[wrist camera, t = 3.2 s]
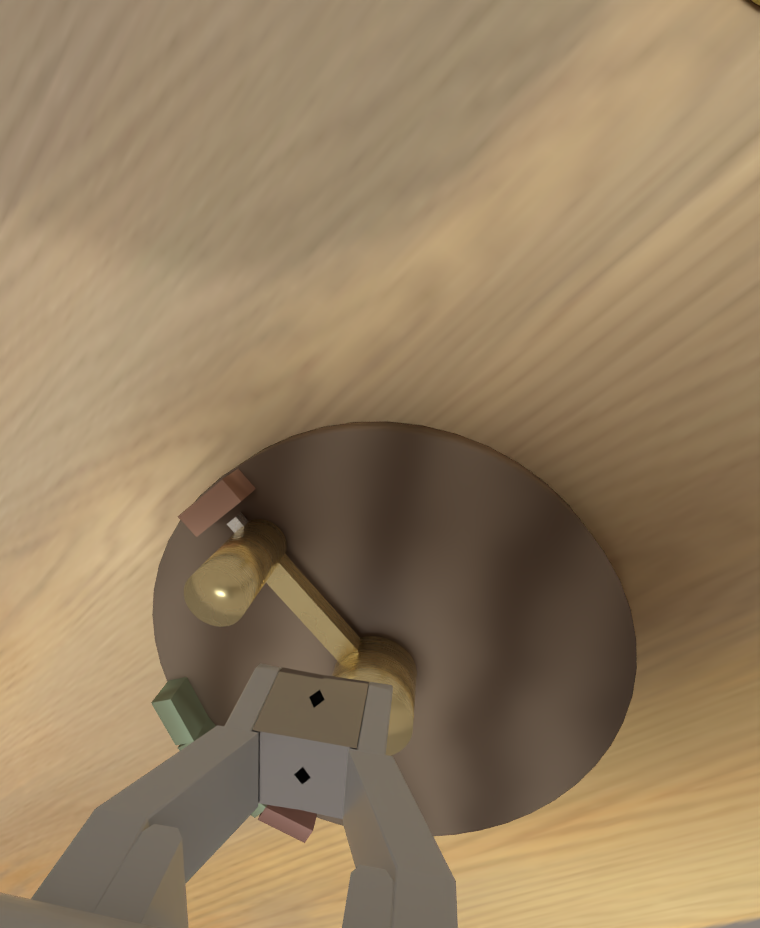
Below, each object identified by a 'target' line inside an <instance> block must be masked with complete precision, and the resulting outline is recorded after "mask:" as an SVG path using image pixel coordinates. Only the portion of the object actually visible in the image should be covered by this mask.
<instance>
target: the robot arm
mask: <svg viewBox="0 0 760 928" xmlns="http://www.w3.org/2000/svg"><path fill="white" fill-rule="evenodd" d="M392 693H393V686H392V685H388V684H382V683H375V682H370V684H369V682H368V681H361V680H354V679H348V678H341V677H335V676H328V675H326V676H325V675H320V674H315V673H310V672H304V671H299V670H294V669H289V668H283V667H282V668H280V667H275V666H270V665H265V664H259V665H258V666H257V667H256V668H255V670H254V672H253V673H252V675H251V677H250V679H249V681H248V683H247V685H246V687H245V688H244V690H243V692H242V694H241V696H240V698H239V700H238V702H237V704H236V705H235V707H234V709H233V711H232V713H231V715H230V717H229V719H228V720H227V722H226V724H225V726H218V725H217V726H216V727H214V728H213V729H211V730H210V731H208V732H207V733H206V734H204V735H203V736H201V737H200V738H198V739H197V740H195V741H194V742H192V743H191V744H189V745H188V746H187V747H185V748H184V749H182V750H181V751H179V752H178V753H176V754H175V755H173V756H172V757H170V758H169V759H167V760H166V761H165V762H163V763H162V764H160V765H159V766H157V767H156V768H154V769H153V770H151V771H150V772H148V773H147V774H145V775H144V776H143V777H141V778H140V779H138V780H137V781H135V782H134V783H132V784H131V785H129V786H128V787H126V788H125V789H123V790H122V791H121V792H119V793H118V794H116V795H115V796H113V797H112V798H110V799H109V800H107V801H106V802H104V803H103V804H101V805H100V806H99V807H97V808H96V809H95V810H94V811H93V813H92V814H91V816H90V817H89V818H88V820H87V821H86V823H85V824H84V825H83V827H82V828H81V830H80V831H79V832H78V834H77V835H76V837H75V838H74V839H73V841H72V842H71V844H70V845H69V846H68V848H67V849H66V851H65V852H64V853H63V855H62V856H61V858H60V859H59V860H58V862H57V863H56V865H55V866H54V867H53V869H52V870H51V872H50V873H49V874H48V876H47V877H46V879H45V880H44V881H43V883H42V884H41V886H40V887H39V888H38V890H37V891H36V893H35V894H34V895H33V897H32V898H31V899H27V898H23V897H18V896H14V895H9V894H5V893H0V928H188V915H187V902H186V888H185V884H186V883H187V882H188V881H189V879H190V878H191V877H192V876H193V875H194V874H195V873H196V872H197V871H198V870H199V869H200V868H201V867H202V866H203V865H204V864H205V862H206V861H207V860H208V859H209V858H210V857H211V856H212V855H213V854H214V853H215V852H216V851H217V850H218V849H219V848H220V847H221V846H222V844H223V843H224V842H225V841H226V840H227V839H228V838H229V837H230V836H231V835H232V834H233V833H234V832H235V831H236V830H237V829H238V828H239V826H240V825H241V824H242V823H243V822H244V821H245V820H246V819H247V818H248V817H249V816H250V815H251V814H252V813H253V812H254V811H255V810H256V808H257V807H258V803H259V804H266V805H272V806H279V807H285V808H291V809H298V810H303V811H308V812H312V813H316V814H321V815H325V816H330V817H334V818H339V819H343V825H344V829H345V832H346V836H347V839H348V843H349V846H350V850H351V853H352V857H353V860H354V864H355V867H356V869H355V870H353V871H352V872H351V876H350V882H349V888H348V894H347V900H346V906H345V912H344V919H343V925H342V928H458V923H457V900H456V881H455V879H454V877H453V875H452V873H451V871H450V869H449V867H448V865H447V863H446V861H445V859H444V857H443V855H442V853H441V851H440V849H439V847H438V845H437V843H436V841H435V839H434V837H433V835H432V833H431V831H430V829H429V827H428V825H427V823H426V821H425V819H424V817H423V815H422V813H421V811H420V809H419V807H418V805H417V803H416V801H415V799H414V797H413V795H412V793H411V791H410V789H409V787H408V785H407V783H406V781H405V779H404V777H403V775H402V773H401V771H400V769H399V767H398V765H397V764H396V762H395V760H394V758H393V756H389V755H386V747H387V738H388V729H389V720H390V711H391V702H392Z"/></svg>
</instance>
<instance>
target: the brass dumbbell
mask: <svg viewBox="0 0 760 928" xmlns="http://www.w3.org/2000/svg"><path fill="white" fill-rule="evenodd" d="M227 525H228V526H229V527H230V528H231V530H232V531H233V532H234V534H233V535H232V536H231V537H230V538H229V539H228V540H227V541H226V542H225V543H224V544H223V545H222V546H221V547H220V548H219V549H218V550H217V551H216V552H215V553H214V554H213V555H212V556H211V557H210V558H209V559H208V560H207V561H206V562H205V563H204V564H203V565H202V566H201V567H200V568H198V569H197V570H196V571H195V572H194V573H193V574H192V575H191V576H190V577H189V579H188V580H187V581H186V583H185V586H184V599H185V602H186V604H187V606H188V608H189V610H190V611H191V612H192V613H193V614H194V615H195V616H196V617H197V618H198V619H199V620H201V621H203V622H205V623H207V624H209V625H213V626H218V627H224V626H230V625H232V624H234V623H236V622H237V621H239V620H240V619H241V618H242V616H243V615H244V613H245V612H246V610H247V609H248V607H249V606H250V605H251V603H252V602H253V600H254V599H255V597H256V596H257V595H258V593H259V592H260V590H261V589H262V587H263V586H264V584H265V583H267V584H268V585H269V586H270V587H271V588H272V590H273V591H274V592H275V593H276V594H277V595H278V596H279V597H280V598H281V599H282V600H283V602H284V603H285V604H286V605H287V606H288V607H289V608H290V609H291V610H292V611H293V613H294V614H295V615H296V616H297V617H298V618H299V619H300V620H301V621H302V622H303V624H304V625H305V626H306V627H307V628H308V629H309V630H310V631H311V632H312V633H313V635H314V636H315V637H316V638H317V639H318V640H319V641H320V642H321V643H322V644H323V645H324V647H325V648H326V649H327V650H328V651H329V652H330V653H331V654H332V655H333V656H334V658H335V659H336V660H337V661H336V665H335V668H334V671H333V674H332V676H335V677H341V678H348V679H354V680H361V681H368V682H369V684H370V682H375V683H382V684H388V685H392V686H393V693H392V702H391V711H390V720H389V729H388V738H387V747H386V755H389V756H391V755H394V754H396V753H398V752H400V751H401V750H402V749H403V748H404V747H405V746H406V745H407V744H408V742H409V741H410V739H411V736H412V733H413V720H414V706H415V692H416V678H417V669H416V665H415V663H414V660H413V658H412V657H411V655H410V654H409V653H408V652H407V651H406V650H405V649H404V648H403V647H402V646H401V645H399V644H397V643H396V642H394V641H392V640H389V639H386V638H382V637H376V636H367V637H361V638H360V637H359V636H358V635H357V634H356V633H355V632H354V631H353V630H352V628H351V627H350V626H349V625H348V624H347V623H346V622H345V621H344V619H343V618H342V617H341V616H340V615H339V614H338V613H337V612H336V610H335V609H334V608H333V607H332V606H331V605H330V604H329V603H328V601H327V600H326V599H325V598H324V597H323V596H322V595H321V594H320V592H319V591H318V590H317V589H316V588H315V587H314V586H313V585H312V583H311V582H310V581H309V580H308V579H307V578H306V577H305V576H304V574H303V573H302V572H301V571H300V570H299V569H298V568H297V567H296V565H295V564H294V563H293V562H292V561H291V560H290V559H289V558H288V556H287V555H286V554H285V553H286V550H287V542H286V538H285V536H284V534H283V532H282V531H281V530H280V528H279V527H278V526H276V525H275V524H273V523H272V522H270V521H267V520H263V519H253V520H250V521H248V520H247V519H246V518H245V517H244V516H243V514H242V513H240V514H238V515H237V516H236V517H234V518H233V519H232V520H231V521H230V522H229V523H228V524H227Z"/></svg>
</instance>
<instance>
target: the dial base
mask: <svg viewBox="0 0 760 928" xmlns="http://www.w3.org/2000/svg"><path fill="white" fill-rule="evenodd" d="M240 513H242V514H243V516H244V517H245V518H246V519H247V520H248V521H250V520H253V519H263V520H267V521H270V522H272V523H273V524H275V525H276V526H278V527H279V528H280V530H281V531H282V532H283V534H284V536H285V538H286V542H287V550H286V553H285V554H286V555H287V556H288V558H289V559H290V560H291V561H292V562H293V563H294V564H295V565H296V567H297V568H298V569H299V570H300V571H301V572H302V573H303V574H304V576H305V577H306V578H307V579H308V580H309V581H310V582H311V583H312V585H313V586H314V587H315V588H316V589H317V590H318V591H319V592H320V594H321V595H322V596H323V597H324V598H325V599H326V600H327V601H328V603H329V604H330V605H331V606H332V607H333V608H334V609H335V610H336V612H337V613H338V614H339V615H340V616H341V617H342V618H343V619H344V621H345V622H346V623H347V624H348V625H349V626H350V627H351V628H352V630H353V631H354V632H355V633H356V634H357V635H358V636H359V637H360V638H361V637H367V636H376V637H382V638H386V639H389V640H392V641H394V642H396V643H397V644H399V645H401V646H402V647H403V648H404V649H405V650H406V651H407V652H408V653H409V654H410V655H411V657H412V658H413V660H414V663H415V665H416V669H417V678H416V692H415V706H414V720H413V733H412V736H411V739H410V741H409V742H408V744H407V745H406V746H405V747H404V748H403V749H402V750H401V751H400V752H398V753H396V754H394V755H391V756H393V758H394V760H395V762H396V764H397V765H398V767H399V769H400V771H401V773H402V775H403V777H404V779H405V781H406V783H407V785H408V787H409V789H410V791H411V793H412V795H413V797H414V799H415V801H416V803H417V805H418V807H419V809H420V811H421V813H422V815H423V817H424V819H425V821H426V823H427V825H428V827H429V829H430V831H431V833H432V835H433V836H443V835H456V834H462V833H467V832H473V831H479V830H483V829H487V828H491V827H494V826H498V825H501V824H505V823H508V822H510V821H513V820H515V819H518V818H520V817H523V816H525V815H528V814H530V813H532V812H534V811H536V810H538V809H540V808H541V807H543V806H545V805H547V804H549V803H551V802H552V801H554V800H556V799H557V798H558V797H560V796H561V795H562V794H564V793H565V792H567V791H568V790H569V789H571V788H572V787H573V786H575V785H576V784H577V783H578V782H579V781H580V780H581V779H582V778H583V777H584V776H585V775H586V774H587V773H588V772H589V771H590V770H591V769H592V768H594V767H595V765H596V764H597V763H598V761H599V760H600V759H601V757H602V756H603V755H604V754H605V752H606V751H607V750H608V748H609V747H610V746H611V744H612V742H613V740H614V738H615V737H616V735H617V733H618V731H619V729H620V727H621V725H622V724H623V722H624V719H625V716H626V713H627V710H628V707H629V704H630V701H631V698H632V694H633V688H634V682H635V675H636V669H637V664H636V636H635V631H634V626H633V620H632V615H631V610H630V607H629V604H628V602H627V599H626V596H625V593H624V591H623V588H622V585H621V582H620V580H619V578H618V576H617V575H616V573H615V571H614V569H613V567H612V566H611V564H610V562H609V560H608V558H607V557H606V555H605V553H604V551H603V550H602V549H601V547H600V546H599V544H598V543H597V542H596V540H595V539H594V538H593V536H592V535H591V533H590V532H589V531H588V529H587V528H586V527H585V526H584V524H583V523H582V522H581V520H580V519H579V518H578V517H577V515H576V514H575V513H574V511H573V510H572V509H571V508H570V506H569V505H568V504H567V503H566V502H565V501H564V500H563V499H562V498H561V497H560V496H559V495H558V494H557V493H555V492H554V491H553V490H552V489H551V488H550V487H549V486H548V485H547V484H546V483H545V482H544V481H542V480H541V479H540V478H538V477H537V476H536V475H534V474H533V473H531V472H530V471H529V470H527V469H526V468H525V467H523V466H522V465H520V464H519V463H518V462H516V461H514V460H512V459H510V458H508V457H507V456H505V455H503V454H501V453H499V452H497V451H496V450H494V449H492V448H490V447H488V446H486V445H483V444H481V443H478V442H475V441H473V440H470V439H468V438H465V437H462V436H460V435H457V434H454V433H450V432H446V431H442V430H438V429H434V428H430V427H425V426H421V425H412V424H403V423H394V422H353V423H347V424H340V425H333V426H327V427H321V428H318V429H314V430H311V431H308V432H304V433H301V434H297V435H294V436H291V437H289V438H287V439H285V440H282V441H280V442H278V443H276V444H274V445H271V446H269V447H267V448H265V449H263V450H262V451H260V452H259V453H257V454H255V455H254V456H252V457H251V458H249V459H248V460H246V461H245V462H243V463H241V464H240V465H238V466H237V467H235V468H234V469H232V470H231V471H230V472H228V473H227V474H225V475H224V476H222V477H221V478H220V479H219V480H217V481H216V482H215V483H214V484H213V485H212V486H211V487H209V488H208V489H207V490H206V491H205V492H204V493H203V494H202V495H200V496H199V498H198V499H197V500H196V501H195V502H194V503H193V504H192V505H191V506H190V507H189V508H187V509H186V510H185V511H184V512H183V513H181V514H180V515H179V516H178V518H179V519H180V522H179V524H178V525H177V527H176V529H175V531H174V532H173V534H172V536H171V537H170V539H169V541H168V543H167V546H166V549H165V551H164V554H163V556H162V559H161V562H160V564H159V568H158V573H157V578H156V582H155V587H154V598H153V624H154V635H155V642H156V646H157V650H158V654H159V659H160V663H161V666H162V668H163V671H164V674H165V676H166V679H167V681H168V682H167V683H166V685H165V686H164V687H163V688H162V690H161V691H160V692H159V694H158V695H157V696H156V697H155V699H154V700H153V701H152V705H153V707H154V708H155V710H156V712H157V714H158V715H159V717H160V719H161V721H162V722H163V724H164V726H165V728H166V729H167V731H168V733H169V734H170V736H171V738H172V740H173V741H174V743H175V745H179V747H178V749H179V750H180V751H181V750H182V749H184V748H185V747H187V746H188V745H189V744H191V743H192V742H194V741H195V740H197V739H198V738H200V737H201V736H203V735H204V734H206V733H207V732H208V731H210V730H211V729H213V728H214V727H216V726H217V725H218V726H225V724H226V722H227V720H228V719H229V717H230V715H231V713H232V711H233V709H234V707H235V705H236V704H237V702H238V700H239V698H240V696H241V694H242V692H243V690H244V688H245V687H246V685H247V683H248V681H249V679H250V677H251V675H252V673H253V672H254V670H255V668H256V667H257V666H258V665H259V664H265V665H270V666H275V667H280V668H282V667H283V668H289V669H294V670H299V671H304V672H310V673H315V674H320V675H325V676H326V675H328V676H332V674H333V671H334V668H335V665H336V661H337V660H336V659H335V658H334V656H333V655H332V654H331V653H330V652H329V651H328V650H327V649H326V648H325V647H324V645H323V644H322V643H321V642H320V641H319V640H318V639H317V638H316V637H315V636H314V635H313V633H312V632H311V631H310V630H309V629H308V628H307V627H306V626H305V625H304V624H303V622H302V621H301V620H300V619H299V618H298V617H297V616H296V615H295V614H294V613H293V611H292V610H291V609H290V608H289V607H288V606H287V605H286V604H285V603H284V602H283V600H282V599H281V598H280V597H279V596H278V595H277V594H276V593H275V592H274V591H273V590H272V588H271V587H270V586H269V585H268V584H267V583H265V584H264V586H263V587H262V589H261V590H260V592H259V593H258V595H257V596H256V597H255V599H254V600H253V602H252V603H251V605H250V606H249V607H248V609H247V610H246V612H245V613H244V615H243V616H242V618H241V619H240V620H239V621H237V622H236V623H234V624H232V625H230V626H224V627H218V626H213V625H209V624H207V623H205V622H203V621H201V620H199V619H198V618H197V617H196V616H195V615H194V614H193V613H192V612H191V611H190V610H189V608H188V606H187V604H186V602H185V599H184V586H185V583H186V581H187V580H188V579H189V577H190V576H191V575H192V574H193V573H194V572H195V571H196V570H197V569H198V568H200V567H201V566H202V565H203V564H204V563H205V562H206V561H207V560H208V559H209V558H210V557H211V556H212V555H213V554H214V553H215V552H216V551H217V550H218V549H219V548H220V547H221V546H222V545H223V544H224V543H225V542H226V541H227V540H228V539H229V538H230V537H231V536H232V535H233V534H234V532H233V531H232V530H231V528H230V527H229V526H228V525H227V524H228V523H229V522H230V521H231V520H232V519H233V518H234V517H236V516H237V515H238V514H240ZM259 814H260V816H259V818H258V820H260V821H262V822H264V823H266V824H268V825H270V826H272V827H274V828H276V829H278V830H280V831H282V832H284V833H286V834H288V835H290V836H292V837H294V838H296V839H298V840H300V841H302V842H304V843H305V841H306V840H307V839H308V837H309V836H310V834H311V833H312V831H313V828H314V824H315V820H316V817H318V818H320V819H323V820H326V821H330V822H333V823H336V824H339V825H343V819H339V818H334V817H330V816H325V815H321V814H316V813H312V812H308V811H303V810H298V809H291V808H285V807H279V806H272V805H266V804H259V803H258V807H257V808H256V810H255V811H254V812H253V813H252V814H251V815H252V816H253V817H254V818H255V817H256V816H258V815H259ZM343 826H344V825H343Z"/></svg>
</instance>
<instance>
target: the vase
mask: <svg viewBox="0 0 760 928" xmlns="http://www.w3.org/2000/svg"><path fill="white" fill-rule="evenodd" d="M751 1H753V2H754V3H756V4H757V5H759V6H760V0H751Z"/></svg>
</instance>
